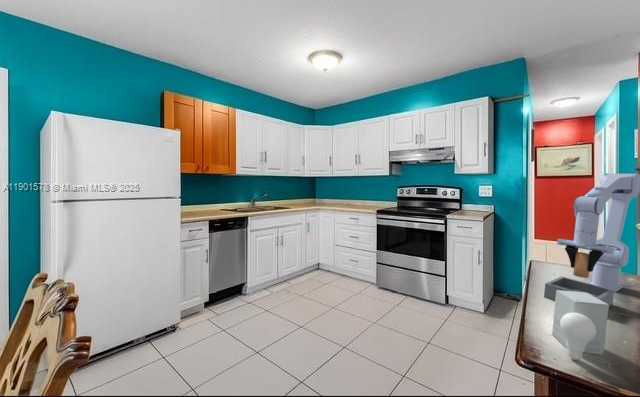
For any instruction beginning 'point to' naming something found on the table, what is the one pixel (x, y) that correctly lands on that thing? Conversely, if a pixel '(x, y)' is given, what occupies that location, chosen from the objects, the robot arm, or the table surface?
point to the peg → (581, 265)
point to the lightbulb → (577, 333)
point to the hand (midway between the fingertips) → (581, 269)
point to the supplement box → (586, 307)
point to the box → (577, 289)
